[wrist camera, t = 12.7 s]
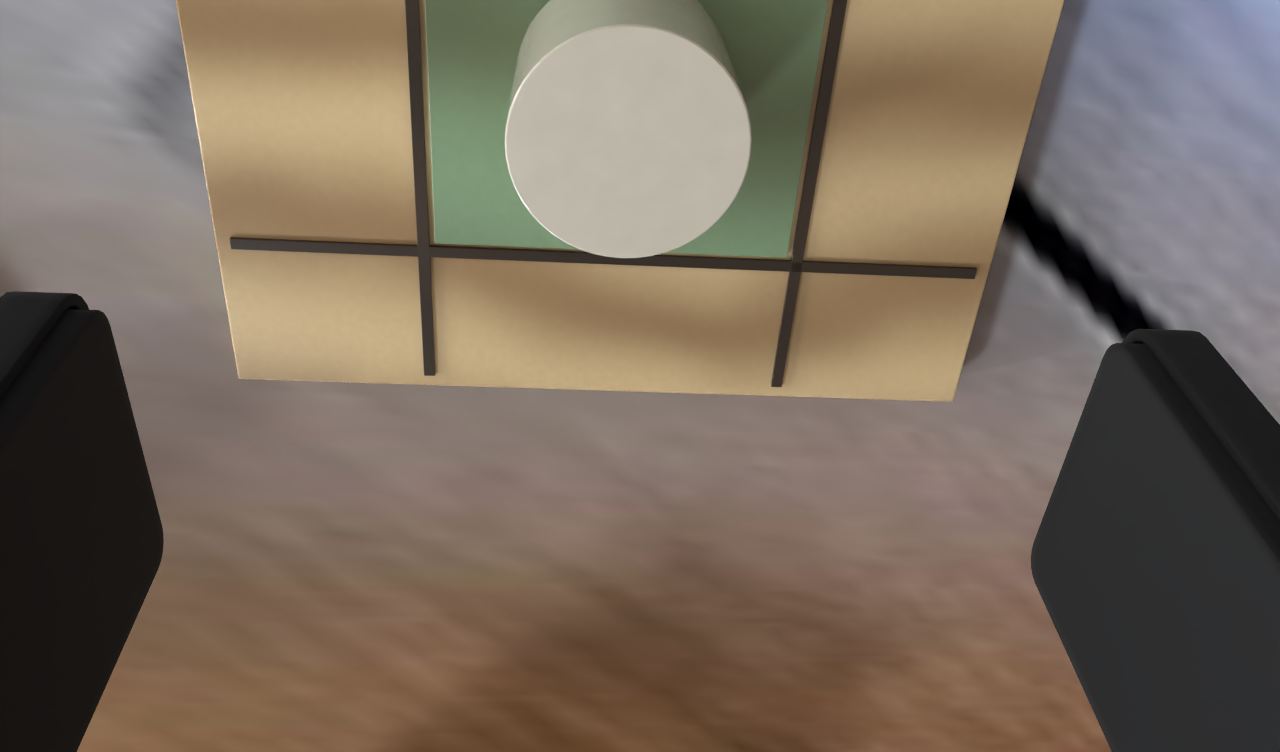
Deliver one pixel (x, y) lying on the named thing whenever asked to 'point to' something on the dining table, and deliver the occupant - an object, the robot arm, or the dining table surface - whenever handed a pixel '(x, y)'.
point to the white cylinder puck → (626, 124)
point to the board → (593, 284)
